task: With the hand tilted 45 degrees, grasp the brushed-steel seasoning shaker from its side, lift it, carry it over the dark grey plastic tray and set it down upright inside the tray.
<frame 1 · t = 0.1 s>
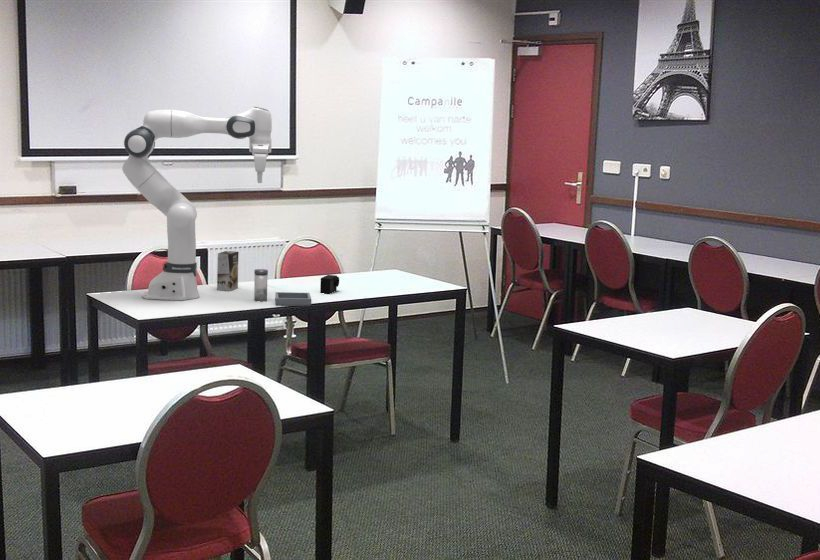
hand: (259, 182, 390), 48 cm above the table, tool pointing down, fingers open, 8 cm apart
digital camera: (329, 292, 418), on the table
tray: (292, 302, 390), on the table
shaker: (260, 300, 392), on the table
coffee box: (227, 289, 415), on the table
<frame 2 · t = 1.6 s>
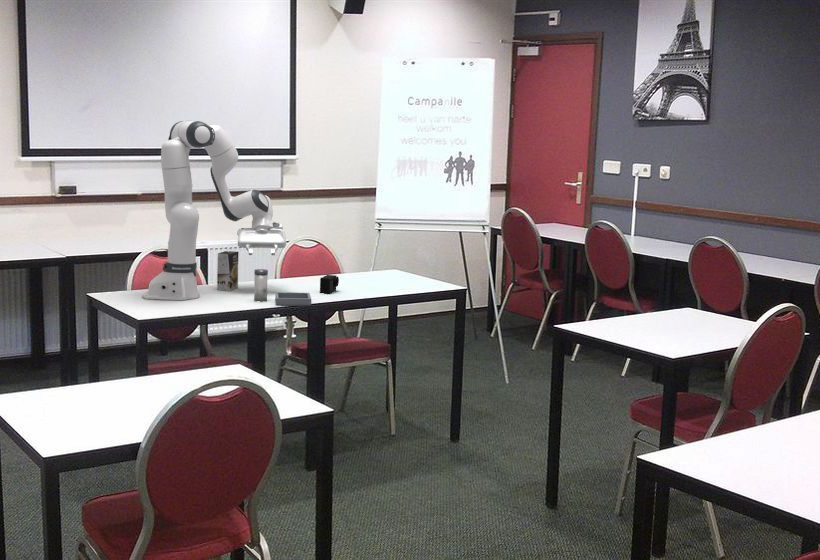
hand: (261, 254, 401), 17 cm above the table, tool tilted 45°, fingers open, 8 cm apart
nothing on the table moved.
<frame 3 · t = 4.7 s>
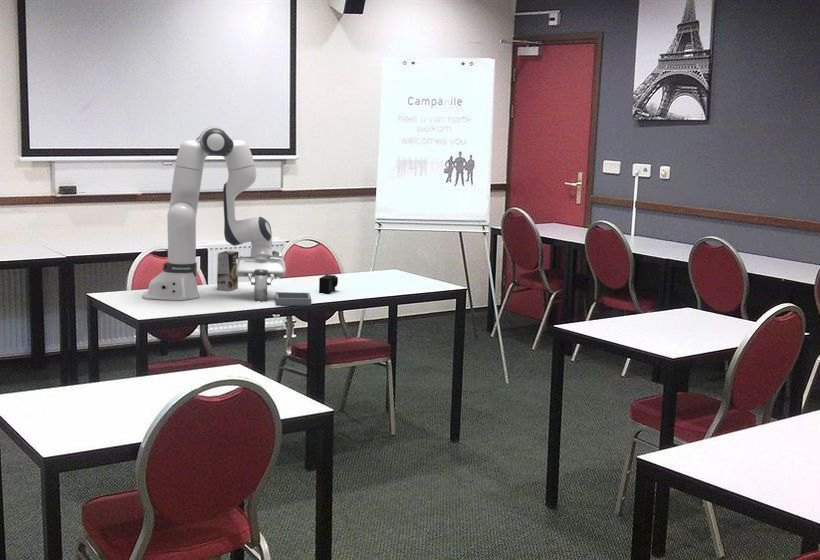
hand: (260, 284, 390), 7 cm above the table, tool tilted 45°, fingers closed on shaker, 5 cm apart
shaker: (260, 300, 392), on the table, touching gripper
everything else where it was.
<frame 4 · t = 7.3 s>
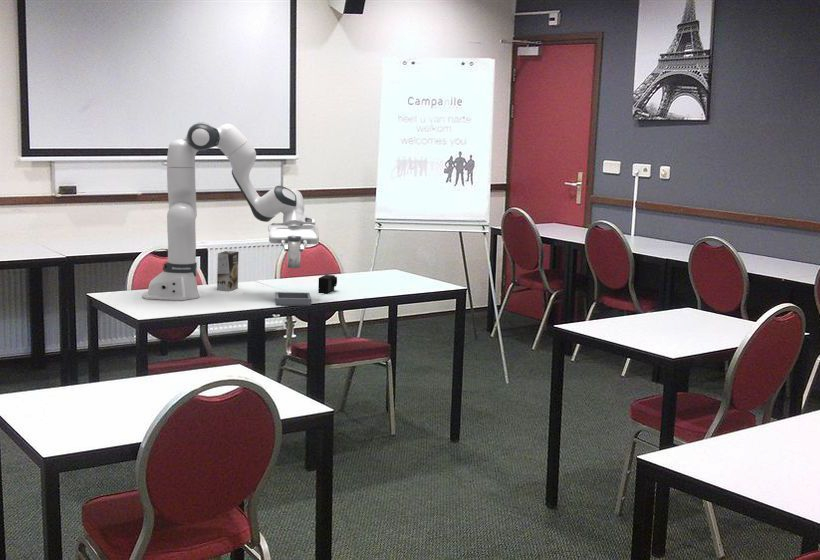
hand: (294, 250, 386), 22 cm above the table, tool tilted 45°, fingers closed on shaker, 5 cm apart
shaker: (293, 267, 388), point 15 cm above the table, touching gripper
everything else where it was.
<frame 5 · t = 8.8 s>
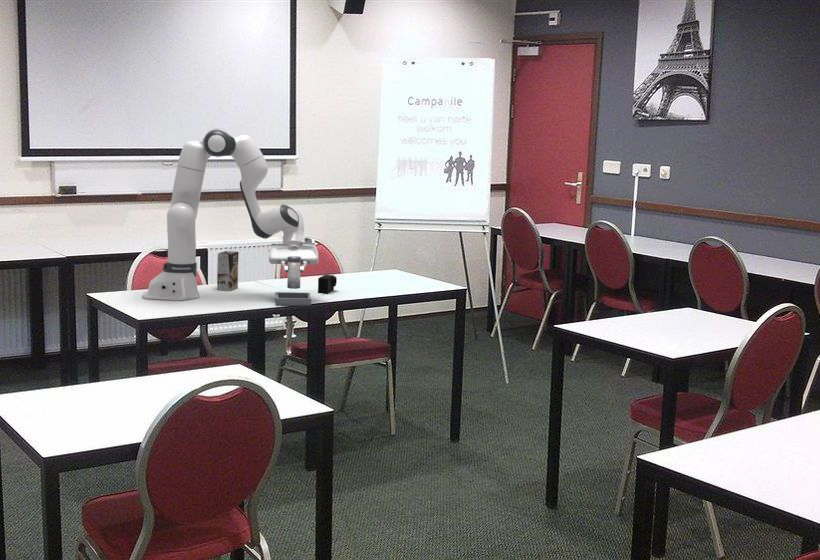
hand: (294, 271, 387), 13 cm above the table, tool tilted 45°, fingers closed on shaker, 5 cm apart
shaker: (293, 287, 389), point 6 cm above the table, touching gripper
when the fingers open (9 cm above the table, at t = 10.1 s): shaker drops 1 cm, resting on tray.
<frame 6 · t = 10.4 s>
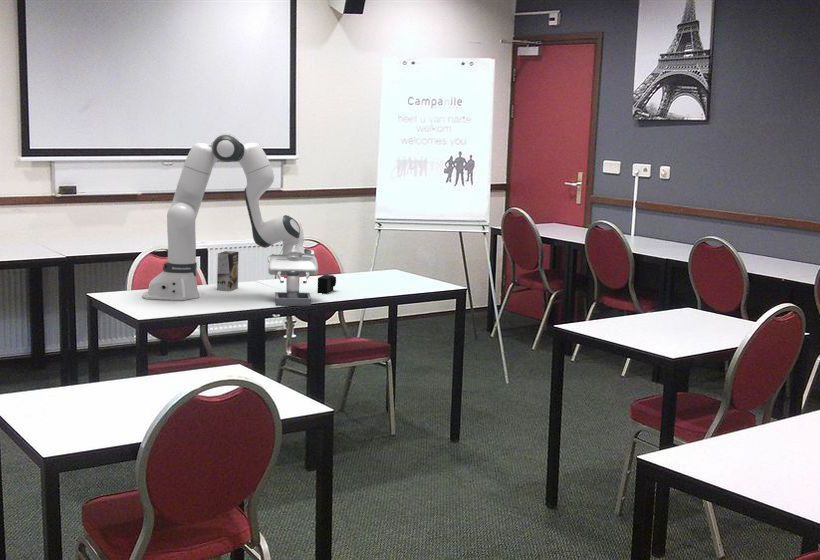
hand: (293, 282, 388), 9 cm above the table, tool tilted 45°, fingers open, 8 cm apart
shaker: (292, 301, 390), point 1 cm above the table, touching tray
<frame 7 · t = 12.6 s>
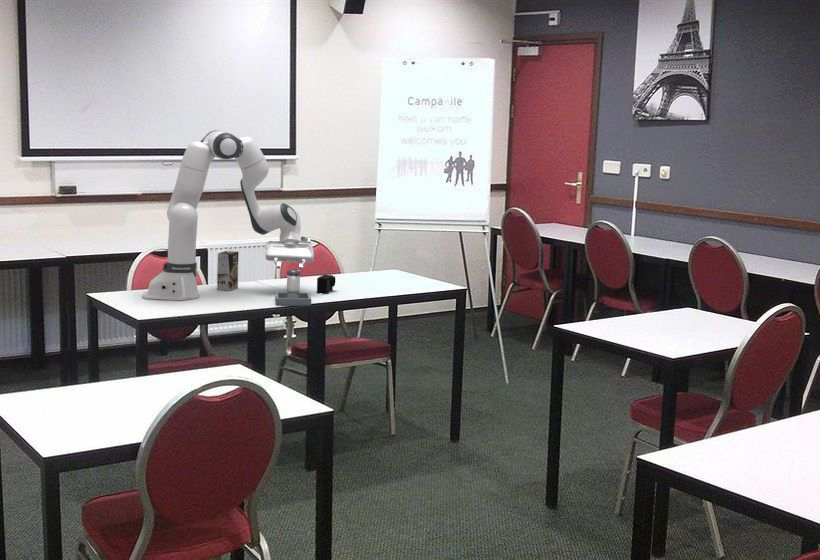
hand: (289, 268, 400), 12 cm above the table, tool tilted 45°, fingers open, 8 cm apart
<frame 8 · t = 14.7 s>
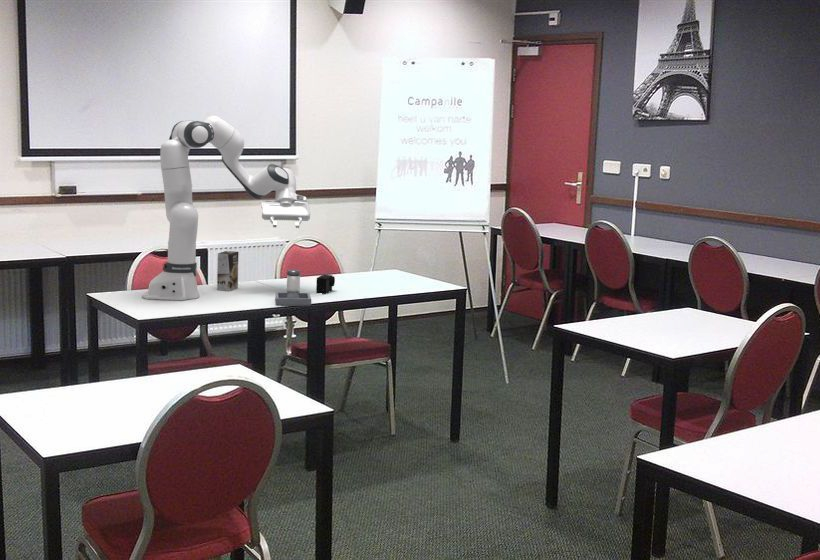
hand: (286, 226, 400), 29 cm above the table, tool tilted 45°, fingers open, 8 cm apart
at the end: shaker inside the target area on the tray (0.1 cm from its centre), point 0.6 cm above the tray's base; shaker tilted 1°; the gripper is holding nothing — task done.
